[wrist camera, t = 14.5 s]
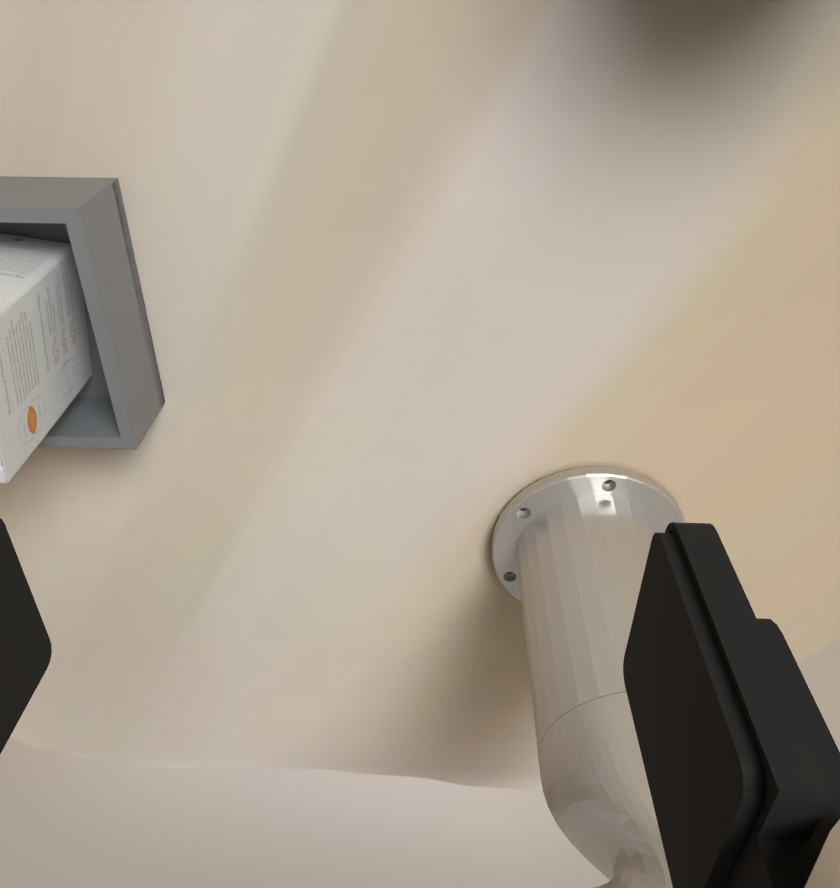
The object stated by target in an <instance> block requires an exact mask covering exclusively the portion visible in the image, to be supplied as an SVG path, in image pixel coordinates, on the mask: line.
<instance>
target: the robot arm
mask: <svg viewBox="0 0 840 888" xmlns="http://www.w3.org/2000/svg"><path fill="white" fill-rule="evenodd" d="M492 558H493V564H494V569H495V572H496V574H497V576H498V579H499V581H500V582H501V584H502V585H503V586H504V587H505V589H506V590H507V591H508V592H509V593H510V594H511V595H512V596H513V597H514V598H516V599H517V600H518V601H519V602H521V604H522V613H523V622H524V631H525V640H526V649H527V658H528V667H529V676H530V685H531V694H532V703H533V712H534V721H535V730H536V739H537V748H538V758H539V767H540V776H541V783H542V787H543V792H544V796H545V798H546V801H547V804H548V807H549V809H550V811H551V813H552V815H553V817H554V819H555V821H556V823H557V825H558V826H559V827H560V829H561V830H562V831H563V833H564V834H565V836H566V837H567V838H568V839H569V841H570V842H571V843H572V844H573V845H574V846H575V847H576V848H577V849H578V850H579V852H580V853H581V854H582V855H583V856H584V857H585V858H586V859H587V860H588V861H590V862H591V863H592V864H593V865H594V866H595V867H596V868H597V869H598V870H599V871H601V872H602V873H603V874H604V875H605V876H606V877H607V878H608V879H609V880H610V881H609V882H608V883H606V884H604V885H602V886H599V887H595V888H840V752H839V750H838V748H837V746H836V744H835V742H834V740H833V738H832V736H831V734H830V731H829V730H828V727H827V725H826V723H825V721H824V719H823V717H822V715H821V713H820V711H819V709H818V707H817V705H816V702H815V701H814V698H813V696H812V694H811V692H810V690H809V688H808V686H807V684H806V682H805V680H804V678H803V675H802V673H801V671H800V669H799V667H798V665H797V663H796V661H795V659H794V657H793V655H792V653H791V650H790V648H789V646H788V644H787V642H786V640H785V638H784V636H783V634H782V632H781V631H780V629H779V628H778V626H777V624H775V623H774V622H773V621H772V620H770V619H756V617H755V614H754V612H753V610H752V608H751V606H750V603H749V601H748V599H747V597H746V595H745V592H744V590H743V588H742V586H741V584H740V581H739V579H738V577H737V575H736V573H735V570H734V568H733V566H732V564H731V562H730V559H729V557H728V555H727V553H726V551H725V548H724V546H723V544H722V542H721V540H720V537H719V535H718V533H717V531H716V529H715V528H714V526H713V525H711V524H705V523H685V520H684V518H683V515H682V512H681V510H680V508H679V507H678V505H677V503H676V502H675V500H674V498H673V497H672V496H671V495H670V494H669V493H668V492H667V491H666V490H665V489H664V488H663V487H662V486H660V485H659V484H657V483H656V482H654V481H653V480H651V479H650V478H648V477H646V476H643V475H641V474H638V473H636V472H634V471H630V470H625V469H621V468H616V467H604V466H589V467H579V468H573V469H569V470H565V471H561V472H557V473H554V474H552V475H550V476H547V477H545V478H542V479H540V480H538V481H536V482H535V483H533V484H532V485H530V486H528V487H527V488H525V489H524V490H522V491H521V492H520V493H519V494H518V495H517V496H516V497H515V498H513V499H512V500H511V501H510V502H509V504H508V505H507V506H506V508H505V509H504V510H503V512H502V513H501V514H500V517H499V519H498V521H497V523H496V525H495V528H494V532H493V537H492ZM51 651H52V650H51V642H50V639H49V636H48V634H47V631H46V629H45V626H44V623H43V621H42V618H41V616H40V613H39V611H38V608H37V606H36V603H35V600H34V598H33V595H32V593H31V590H30V588H29V585H28V583H27V580H26V577H25V575H24V572H23V570H22V567H21V565H20V562H19V560H18V557H17V554H16V552H15V549H14V547H13V544H12V542H11V539H10V537H9V534H8V531H7V529H6V526H5V524H4V522H3V520H2V519H1V518H0V753H1V752H2V750H3V748H4V746H5V744H6V742H7V741H8V739H9V737H10V735H11V733H12V732H13V730H14V728H15V726H16V724H17V722H18V721H19V719H20V717H21V715H22V713H23V711H24V710H25V708H26V706H27V704H28V702H29V700H30V699H31V697H32V695H33V693H34V691H35V689H36V688H37V686H38V684H39V682H40V680H41V679H42V677H43V675H44V673H45V671H46V669H47V667H48V665H49V662H50V658H51Z"/></svg>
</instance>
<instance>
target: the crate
mask: <svg viewBox="0 0 840 888" xmlns="http://www.w3.org/2000/svg"><path fill="white" fill-rule="evenodd" d="M0 233H4V234H11V235H17V236H24V237H30V238H37V239H44V240H51V241H57V242H64V243H70V244H71V246H72V250H73V254H74V258H75V262H76V265H77V269H78V273H79V277H80V281H81V285H82V289H83V294H84V303H85V311H86V320H87V329H88V336H89V345H90V354H91V362H92V370H93V375H92V377H91V378H90V379H89V380H88V382H87V383H86V384H85V386H84V387H83V388H82V389H81V391H80V392H79V393H78V395H77V396H76V397H75V399H74V400H73V401H72V402H71V404H70V405H69V406H68V407H67V409H66V410H65V411H64V413H63V414H62V415H61V417H60V418H59V419H58V421H57V422H56V423H55V424H54V426H53V427H52V428H51V429H50V431H49V432H48V433H47V435H46V436H45V437H44V439H43V440H42V441H41V442H40V444H39V445H38V446H37V447H68V448H112V449H137V447H138V446H139V444H140V443H141V441H142V439H143V438H144V436H145V434H146V433H147V431H148V429H149V428H150V426H151V424H152V423H153V421H154V419H155V418H156V416H157V415H158V413H159V411H160V410H161V408H162V406H163V405H164V403H165V399H164V394H163V389H162V385H161V380H160V375H159V370H158V366H157V361H156V356H155V351H154V347H153V342H152V337H151V333H150V328H149V323H148V318H147V314H146V309H145V304H144V299H143V295H142V290H141V285H140V281H139V276H138V271H137V266H136V262H135V257H134V252H133V248H132V243H131V238H130V233H129V229H128V224H127V219H126V214H125V210H124V205H123V200H122V196H121V191H120V186H119V181H118V178H52V177H0Z"/></svg>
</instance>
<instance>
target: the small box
mask: <svg viewBox="0 0 840 888" xmlns="http://www.w3.org/2000/svg"><path fill="white" fill-rule="evenodd" d="M92 375H93V370H92V362H91V354H90V345H89V336H88V329H87V320H86V311H85V303H84V294H83V289H82V285H81V281H80V277H79V273H78V269H77V265H76V262H75V258H74V254H73V250H72V246H71V244H70V243H64V242H57V241H51V240H44V239H37V238H30V237H24V236H17V235H11V234H4V233H0V483H3V484H7V483H9V482H10V481H11V479H12V478H13V477H14V476H15V474H16V473H17V472H18V470H19V469H20V468H21V467H22V465H23V464H24V463H25V461H26V460H27V459H28V458H29V456H30V455H31V454H32V453H33V451H34V450H35V449H36V447H37V446H38V445H39V444H40V442H41V441H42V440H43V439H44V437H45V436H46V435H47V433H48V432H49V431H50V429H51V428H52V427H53V426H54V424H55V423H56V422H57V421H58V419H59V418H60V417H61V415H62V414H63V413H64V411H65V410H66V409H67V407H68V406H69V405H70V404H71V402H72V401H73V400H74V399H75V397H76V396H77V395H78V393H79V392H80V391H81V389H82V388H83V387H84V386H85V384H86V383H87V382H88V380H89V379H90V378H91V377H92Z"/></svg>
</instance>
